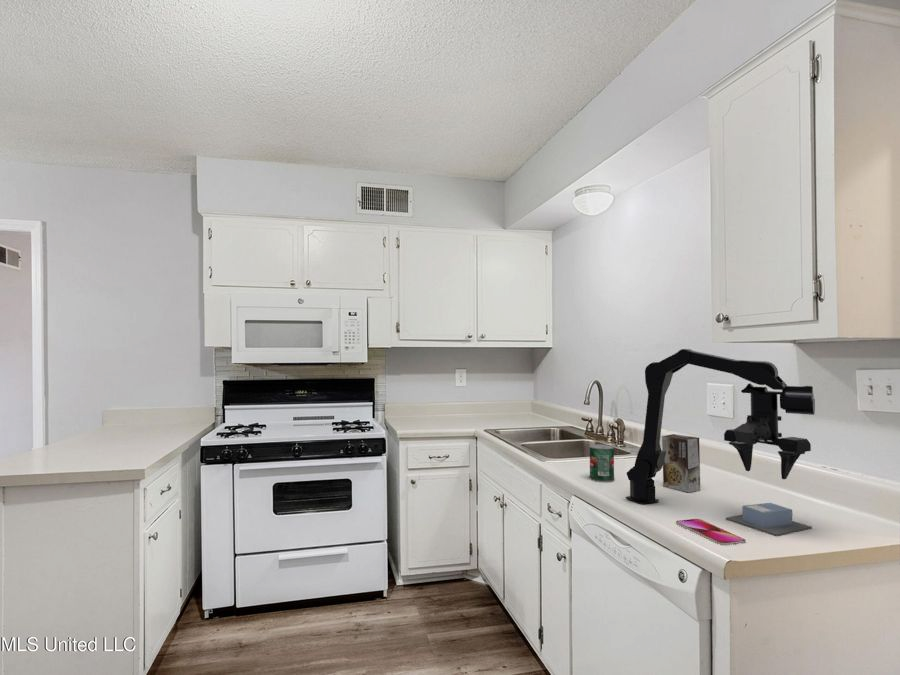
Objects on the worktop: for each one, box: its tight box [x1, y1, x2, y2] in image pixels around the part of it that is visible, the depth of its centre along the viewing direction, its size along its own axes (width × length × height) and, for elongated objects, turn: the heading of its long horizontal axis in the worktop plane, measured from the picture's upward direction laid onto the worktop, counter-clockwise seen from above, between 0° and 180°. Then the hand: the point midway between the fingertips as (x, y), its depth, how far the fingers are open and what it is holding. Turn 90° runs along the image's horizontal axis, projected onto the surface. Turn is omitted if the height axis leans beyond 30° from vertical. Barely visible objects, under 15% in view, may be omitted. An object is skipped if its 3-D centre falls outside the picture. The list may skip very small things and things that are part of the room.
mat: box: [725, 513, 813, 537], centre depth 125 cm, size 13×13×1 cm
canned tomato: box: [589, 443, 615, 483], centre depth 169 cm, size 8×8×11 cm
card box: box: [741, 502, 793, 528], centre depth 125 cm, size 9×6×4 cm, turn 107°
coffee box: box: [661, 433, 701, 493], centre depth 158 cm, size 9×6×16 cm
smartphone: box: [675, 518, 747, 546], centre depth 119 cm, size 7×1×15 cm
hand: (765, 474), depth 125 cm, fingers open, 9 cm apart
